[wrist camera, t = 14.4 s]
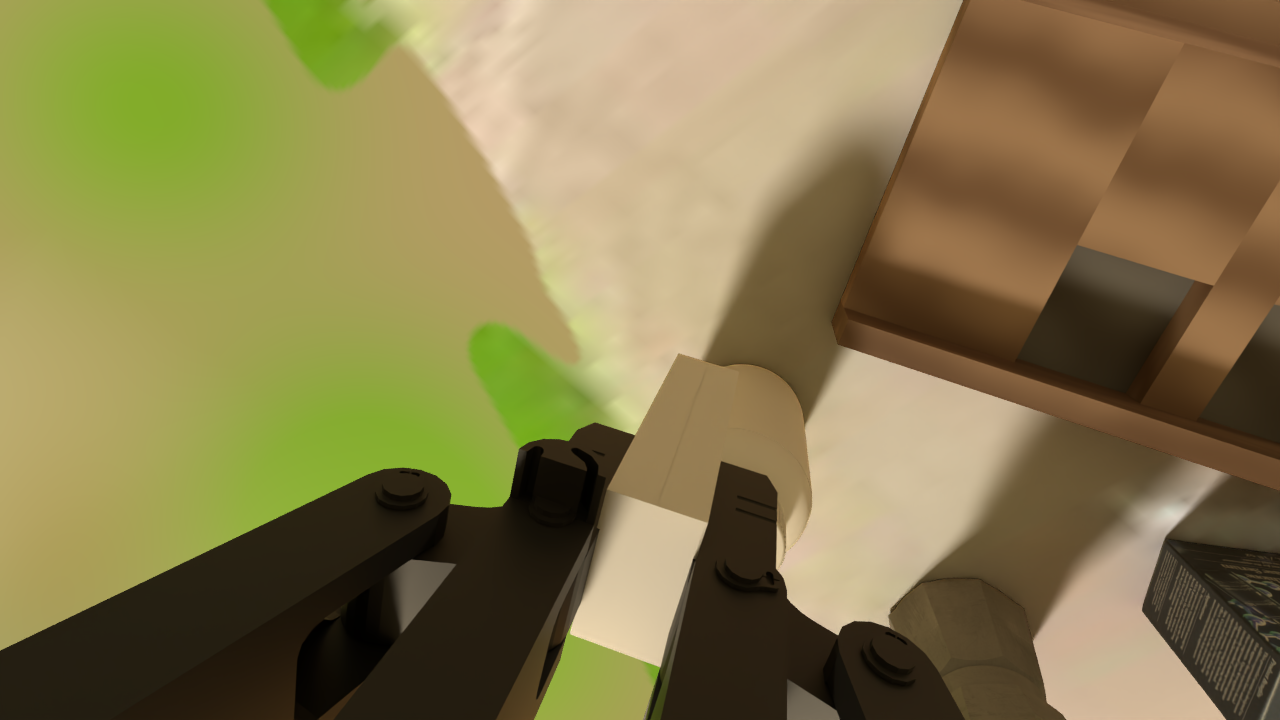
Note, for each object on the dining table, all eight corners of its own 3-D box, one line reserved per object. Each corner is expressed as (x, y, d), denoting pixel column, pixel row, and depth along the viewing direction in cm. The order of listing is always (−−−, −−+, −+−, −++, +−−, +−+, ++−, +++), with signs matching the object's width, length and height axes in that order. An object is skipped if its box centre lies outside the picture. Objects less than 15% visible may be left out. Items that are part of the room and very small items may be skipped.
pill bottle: (778, 486, 44) (776, 642, 30) (669, 444, 44) (617, 576, 30) (824, 386, 41) (845, 505, 27) (707, 343, 42) (669, 437, 28)
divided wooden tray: (977, -35, 32) (1009, -67, 28) (1721, 157, 29) (1902, 157, 24) (831, 322, 39) (837, 344, 35) (1414, 513, 36) (1509, 566, 31)
